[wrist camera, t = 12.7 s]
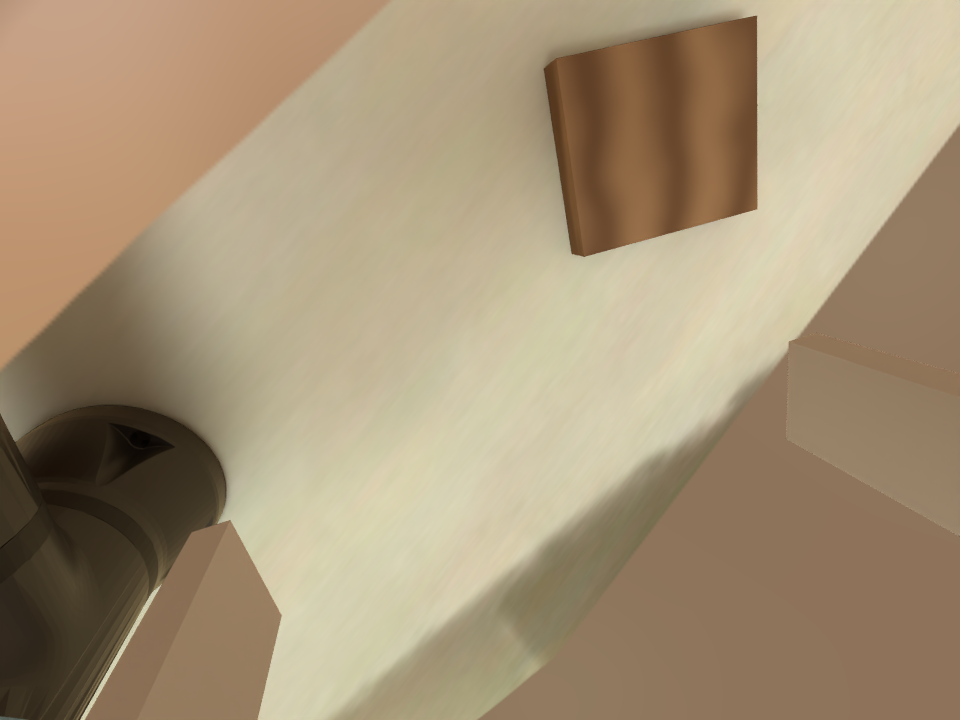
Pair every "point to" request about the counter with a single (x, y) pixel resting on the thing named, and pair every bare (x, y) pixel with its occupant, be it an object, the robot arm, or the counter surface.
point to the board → (656, 134)
